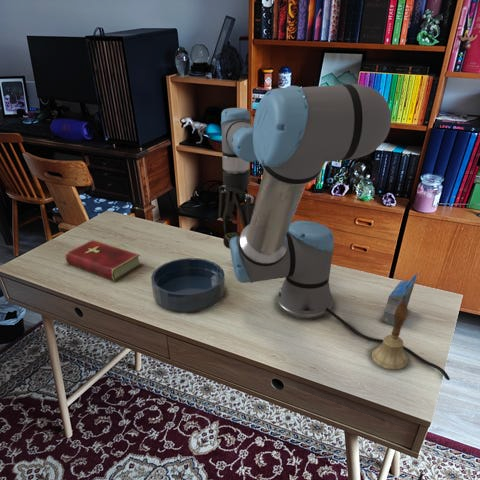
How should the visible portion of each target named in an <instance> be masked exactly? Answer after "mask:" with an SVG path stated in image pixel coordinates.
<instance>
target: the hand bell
mask: <svg viewBox="0 0 480 480" xmlns="http://www.w3.org/2000/svg"><path fill="white" fill-rule="evenodd" d="M408 312H409V311H408V306H407V302H406V301H401V303H400V304H399V306H398V307H397V309H396V311H395V314H394V325H393V328H392V332H391V334H389V335H386V336H384V337H383V339H382V340H383V342H382V343H381V344H380V346H378V347H376V348H374V350H372V351H371V359H372V361H373V362H374V363H375V364H376V365H378V366H379V367H381V368H384V369H387V370H393V371H394V370H395V371H396V370H401V369H404V368H405V367H406V366H407V365H408V361H409V359H408V356H407V355H406V354H405V351H404V350H403V346H404V340H403V339H402V338H401V337H400V335H401V329H402V326H403V325H404V323H405V321H406V320H407V316H408Z"/></svg>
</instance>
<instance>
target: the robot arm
mask: <svg viewBox="0 0 480 480" xmlns="http://www.w3.org/2000/svg"><path fill="white" fill-rule="evenodd" d="M220 115H221V116H220V118H221V120H220V126H221V127H220V128H221V150H222V152H221V153H222V154H221V155H222V157H221V159H222V160H221V162H222V163H221V164H222V165H221V167H222V170H223V171H222V184H223V185H219V186H218V193H219V194H218V195H219V199H218V213H217V214H218V215H217V217H218V218H219V219H221V220H222V222H223V231H224V236H225V235H226V234H228V233H234V223H233V222H234V221H233V217H232V215H233V212H234V208H235V206H236V208H237V210H238V213H239V217H240V221H241V225H242V230H241V233H240V234H241V235H240V237H238V236H236V237H233V238H231V239H230V249H229V250H230V256H231V262H232V267H233V271H234V275H235V278H236V280H237V281H238V282H239V283H241V284H246V283H247V284H248V283H250V284H253V283H257V282H264V281H271V280H277V279H284V280H283V283H282V285H281V287H280V286H278V291H279V292H278V294H277V306H278V309H279V310H280V311H281V312H282V313H284V314H285V315H287V316H289V317H291V318H295V319H299V320H316V319H320V318H323V317H325V316H327V315H328V314H330V315H331V316H333V317H334V318H335V319H336V320H338V321H339V322H340V323H341V324H343V325H344V326H346V327H347V328H348V329H349V330H350V331H351V332H353V333H354V334H355V335H357V336H358V337H360V338H363V339H365V340H367V341H371V342H375V343H381V344H382V342H383V340H384V339H380V338H375V337H370V336H368V335H365V334H363V333H362V332H359V331H358V330H357V329H355V328H354V327H353V326H352V325H351V324H350V323H348V322H346V321H345V320H344V319H342V317H340V316H339V315H338V314H337V313H336V312H334V311H332V309H333V303H334V298H333V295H332V292H331V288H330V287H331V286H330V276H331V268H332V259H333V253H334V250H335V245H334V244H335V235H334V232H333V231H332V230H331V229H330V228H329V227H327V226H325V225H324V224H321V223H318V222H315V221H311V220H295V221H293V219H294V216H295V215H296V212H297V209H298V207H299V204H300V202H301V199H302V197H303V195H304V191H305V189H306V187H307V184H309V183H312V182H313V181H315V180H316V179H317V178H318V177H319V176H320V174H321V172H322V170H323V167H324V165H325V164H326V163H327V162H338V161H348V160H355V159H359V158H362V157H366V156H367V155H370V154H371V153H373V152H374V151H376V150H377V149H379V147H380V146H381V145H382V144H383V143H384V142H385V140H386V139H387V138H388V135H389V133H390V129H391V125H392V112H391V109H390V106H389V103H388V101H387V99H386V98H385V97H384V95H382V94H381V93H380V92H379V91H378V90H376V89H375V88H373V87H370V86H367V85H364V84H359V83H349V84H334V85H319V86H318V85H317V86H304V87H303V86H302V87H300V86H298V85H288V86H285V87H279V88H274V89H270V90H268V91H267V92H266V93H265V94H264V95H263V96H262V97H261V99H260V101H259V102H258V104H257V107H256V110H255V113H254V117H253V124H251V122H252V120H251V113H250V110H249V109H247V108H243V107H229V108H225V109H223V110H222V112H221V114H220ZM253 162H258V163H259V164H260V165H261V167H262V169H263V172H262V176H261V180H260V183H259V188H258V192H257V195H252V194H249V190H248V186H249V185H250V183H251V172H250V171H251V170H249V169H250V168H251V165H250V164H251V163H253ZM403 351H404V352H407V353H408V354H409V355H411V356H412V357H414V358H415V359H416V360H418V361H420V362H421V363H423V364H425V365H426V366H429V367H431V368H434V369H436V370H437V371H439V372H440V373H441V374H442V375H443V377H444V378H445V380H446V381H450V379H451V378H450V376H449V375H448V373H447V372H446V371H445V370H444V369H443V368H442V367H440V366H439V365H437V364H436V363H433V362H430V361H428V360H426V359H424V358H423V357H421V356H420V355H419V354H417V353H415V352H414V351H412V350H411V349H410V348H408V347H406V346H404V345H403ZM423 477H424V474H423V473H422V472H420V473H419V476H418V478H417V480H423Z"/></svg>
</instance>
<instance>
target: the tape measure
mask: <svg viewBox="0 0 480 480" xmlns="http://www.w3.org/2000/svg"><path fill="white" fill-rule="evenodd" d="M240 235H241V233H240V232H239V231H233V233H228V234H226V235H225V234H224V236H223V239H222V240H223V246H224V247H225V248H226V249H229V250H230V239H231V238H233V237H236V236H238V237H240Z"/></svg>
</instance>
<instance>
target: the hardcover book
mask: <svg viewBox="0 0 480 480" xmlns="http://www.w3.org/2000/svg"><path fill="white" fill-rule="evenodd" d="M64 257H65V261H66V263H67V264H68V265H70V266H73V267H75V268H78V269H80V270H83V271H86V272H88V273H90V274H94V275H97V276H98V277H99V276H100V277H102V278H105V279H108V280H110V281H113V282H117V281H118V280H120V279H122V278H124V277H125V276H127V275H128V274H130V273H132V272H133V271H135V270H137V269H138V268H140V267H141V266H142V264H140V262H139V261H140V260H139V257H140V254H138V253H135V252H132V251H129V250H126V249H123V248H120V247H117V246H113V245H111V244H107V243H105V242H101V241H99V240H95V239H91V240H89V241H87V242H85V243H83V244H81V245H79V246H77V247H75V248H73V249H71V250H68V251H67V252H65V254H64Z"/></svg>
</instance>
